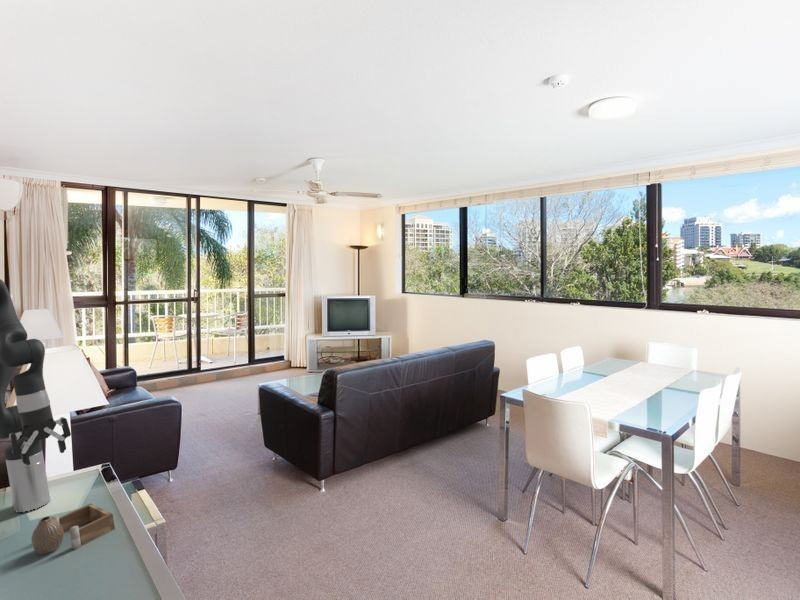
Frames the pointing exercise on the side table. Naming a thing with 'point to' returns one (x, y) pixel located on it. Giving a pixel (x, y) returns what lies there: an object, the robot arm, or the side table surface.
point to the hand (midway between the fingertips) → (45, 458)
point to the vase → (47, 535)
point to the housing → (90, 531)
